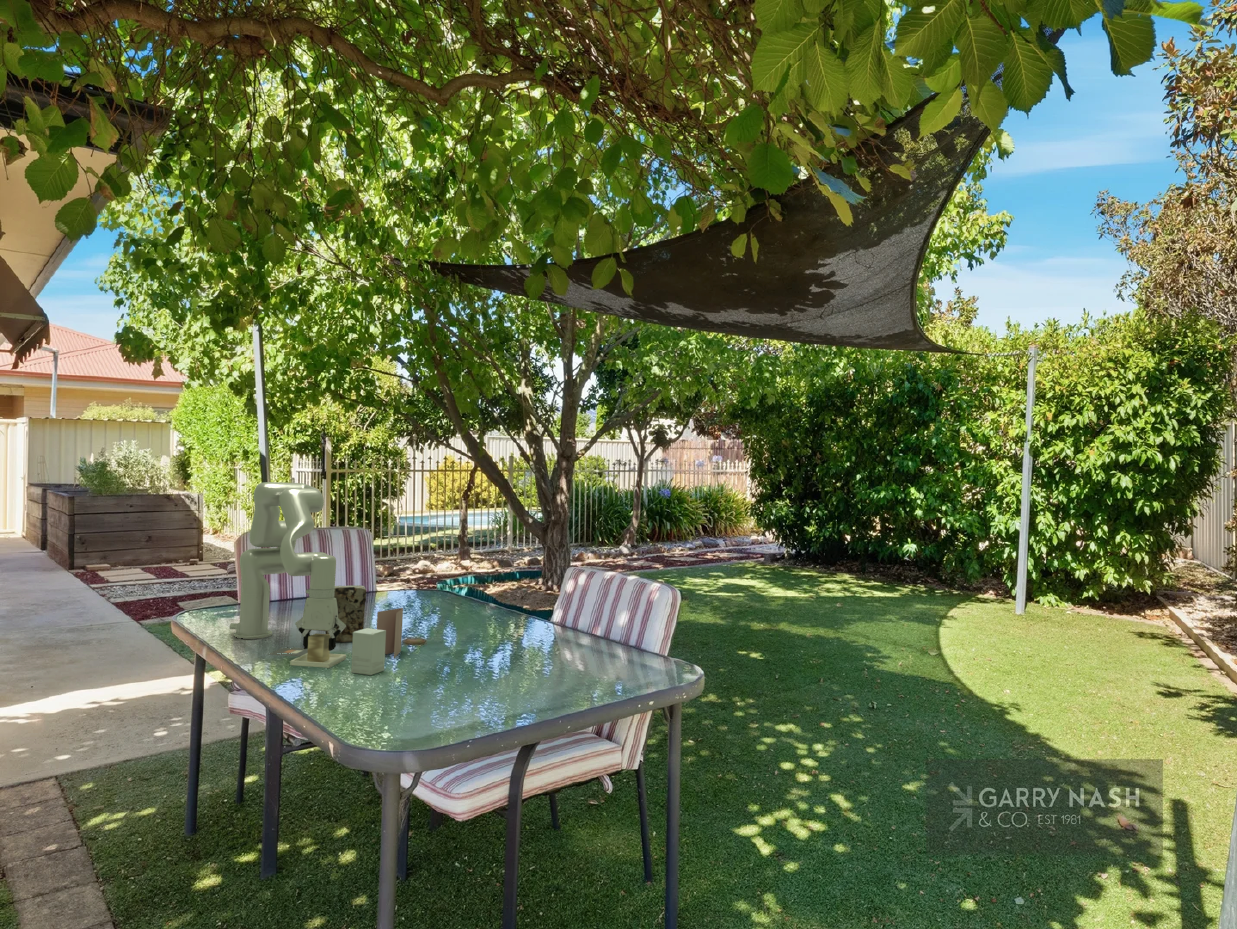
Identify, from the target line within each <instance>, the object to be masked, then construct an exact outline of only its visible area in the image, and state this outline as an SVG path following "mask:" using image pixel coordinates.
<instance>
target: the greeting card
mask: <svg viewBox="0 0 1237 929" xmlns="http://www.w3.org/2000/svg"><path fill="white" fill-rule="evenodd" d="M376 615H377V616H376V629H378V630H386V641H385V654H386V655H389V654H393V659H395V658H396V657H397V656H398V655H399V654H400V653H401V652H402V640H403V639H402V637H403V620H404V619H403V618H404V608H403V607H400V608H393V609H392V608H391V609H387V610H380V611H377V614H376Z"/></svg>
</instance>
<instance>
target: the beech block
mask: <svg viewBox="0 0 1237 929" xmlns="http://www.w3.org/2000/svg"><path fill="white" fill-rule="evenodd" d="M310 635H311V636H308V654H307V661H308V662H325V661H327V660H329V657H330V654H331V651H329V650H328V647H329V638H330V634H325V633H313V634H310Z"/></svg>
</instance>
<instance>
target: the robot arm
mask: <svg viewBox="0 0 1237 929" xmlns="http://www.w3.org/2000/svg"><path fill="white" fill-rule="evenodd" d="M254 488H255V489H254V490H253V503H254V512H253V518H252V522H251V526H250V531H249V543H250V544H251V545H252V546H253V547H256V548H251V549H247V550H245V551H243V552H242V553H241V555H240V557H239V567H240V568H239V569H240V575H241V576H240V577H241V578H240V579H241V580H240V583H241V588H240V604H239V605H240V606H239V608H240V609H239V622H238V623H235V622H231V623H230V624H229V630H235V632H234V634H233V637H234V636H235V637H234V638H236V637H237V639H241V638H243V639H245V640H255V639H256V640H257V639H265V638H269V637H271V636H272V635H273V631H272V630H269V615H270V592H271V587H270V586H271V585H270V584H269V581H267V579H266V578H265V575H280V574H284V573H286V574H288V575H289V576H290V577H306V576H308V577H309V576H310V580H309V588H308V589H305V594H307V595H308V597H306V600H305V603H304V607H303V611H302V612H303V614H302V617H301V618H300V619H298V620H297V621H296V622H295V623H294V625H295V627H296V629H298V632H299V633H300V634H301V637H303V639H302V645H303V648H304V649H308V636H311V635H312V634H310V633H311V632H312V631H319V632H320V631H321V632H322V631H324V632H325V631H328V632H329V634H330V638H329V647H328V650H329V651H330V652H331V651H333V650H335V648H336V646H337V645H336V644H337V643H336V637H337V636H338V635H339V634H340V633H341V632H342V631H343V630H344V628H345V627H346V625H345V624H344V623H343V622H342V621H341V620H340V619H338V607H337V600H336V598H334V595H335V586H336V572H337V571H336V570H337V558H336V557H335V555H331V554H328V553H326V552H323V551H317V552H316V551H314V552H313V551H311V552H310V551H309V552H295V550H296V544H297V540H299V539H301V538H302V537H305V536H307V535H308V534H309V533H311V532H312V531H313V530H314V528H315V523H314V519H313V516H312V513H319V512H321V511H322V509H323V508H324V505H325V504H324V503H325V500H324V496H323V494H322V492H321V491H320V489H318V488H317V487H314V486H313V485H308V484H307V483H301V482H284V481H283V482H282V481H280V482H278V481H271V482H269V481H267V482H260V483H258V484H257V485H256V486H255V487H254ZM281 512H282V516H283V520H280V517H281ZM337 625H338V626H339V629H338V630H337V631H336V629H335V628H336V627H337ZM243 639H242V640H243Z"/></svg>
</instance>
